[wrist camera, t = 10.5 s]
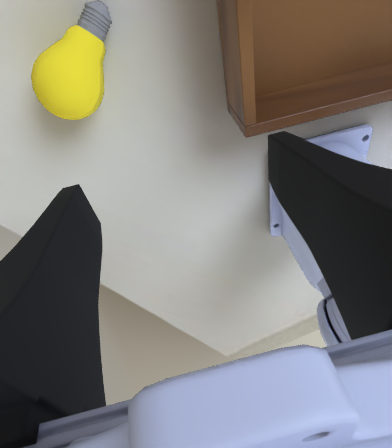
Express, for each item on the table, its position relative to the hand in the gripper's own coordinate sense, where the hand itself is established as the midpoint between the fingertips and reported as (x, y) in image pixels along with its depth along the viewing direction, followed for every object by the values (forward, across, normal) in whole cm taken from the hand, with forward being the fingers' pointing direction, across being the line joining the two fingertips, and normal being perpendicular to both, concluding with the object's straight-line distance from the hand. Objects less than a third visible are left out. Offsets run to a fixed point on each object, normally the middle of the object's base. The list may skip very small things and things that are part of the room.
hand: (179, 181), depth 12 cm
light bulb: (+10, +4, -3) cm, 11 cm away
